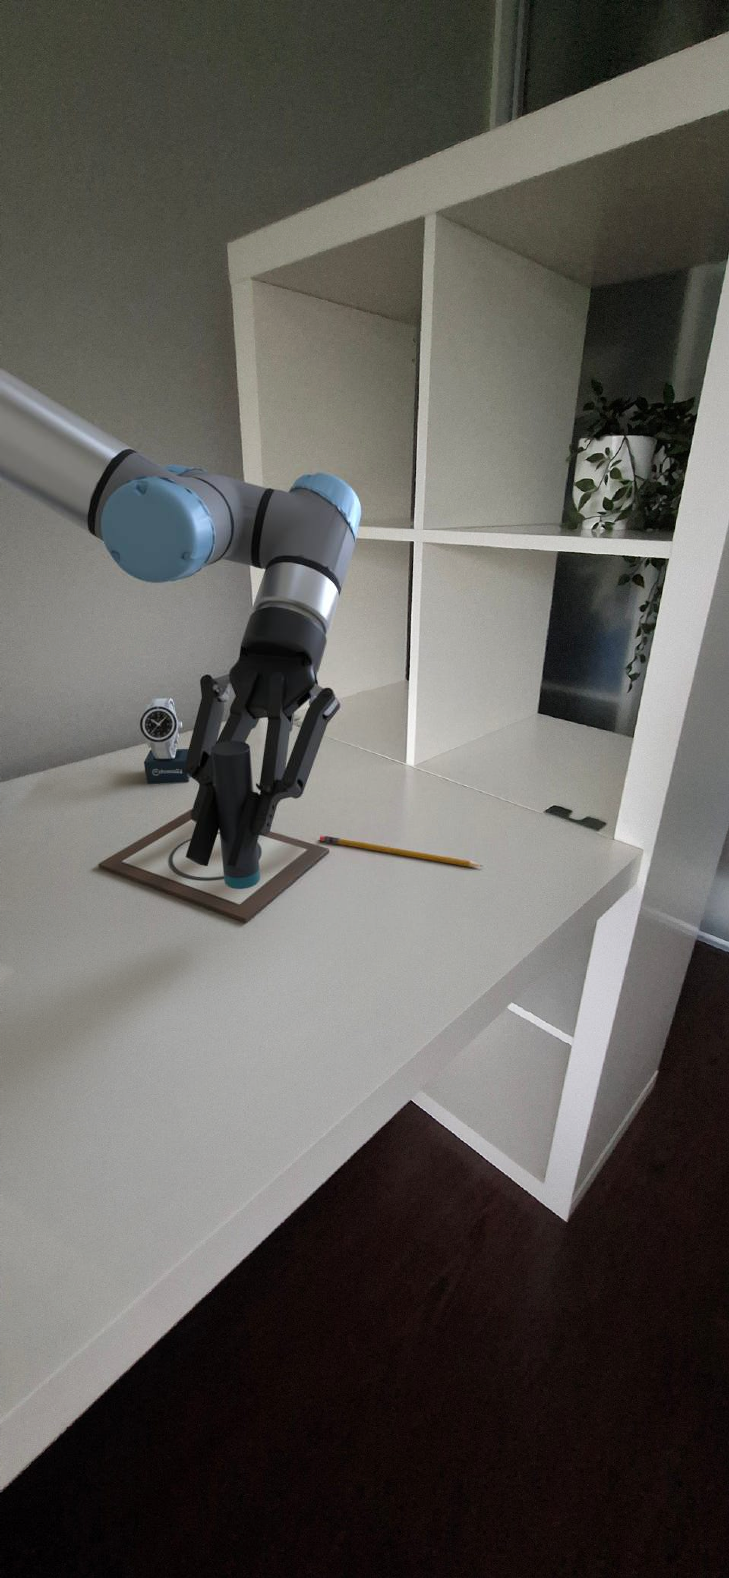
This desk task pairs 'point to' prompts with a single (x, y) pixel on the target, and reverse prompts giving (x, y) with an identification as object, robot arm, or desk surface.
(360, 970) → the desk surface
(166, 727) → the watch
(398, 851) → the pencil
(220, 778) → the marker
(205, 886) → the sketch board
